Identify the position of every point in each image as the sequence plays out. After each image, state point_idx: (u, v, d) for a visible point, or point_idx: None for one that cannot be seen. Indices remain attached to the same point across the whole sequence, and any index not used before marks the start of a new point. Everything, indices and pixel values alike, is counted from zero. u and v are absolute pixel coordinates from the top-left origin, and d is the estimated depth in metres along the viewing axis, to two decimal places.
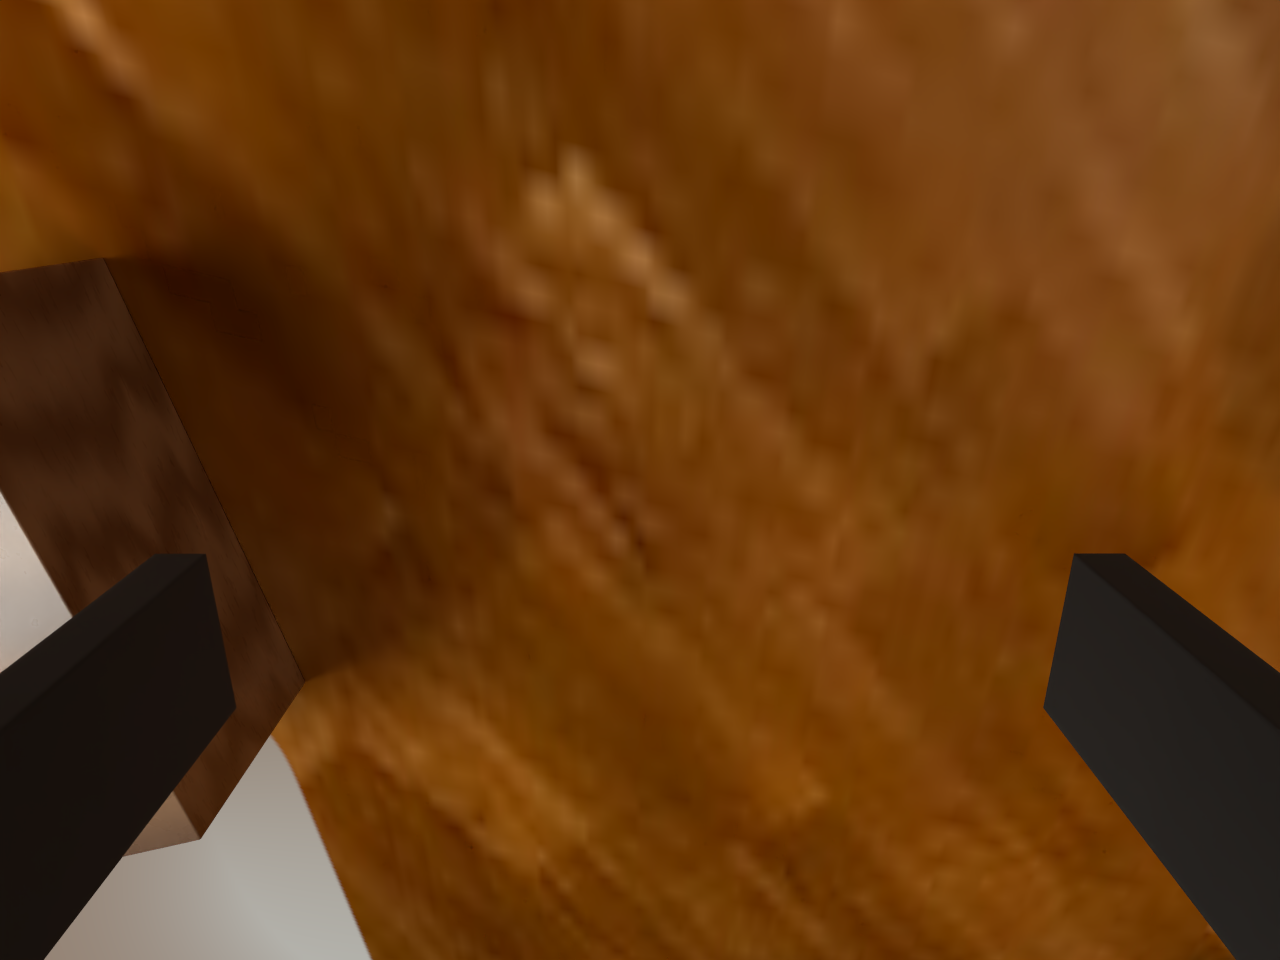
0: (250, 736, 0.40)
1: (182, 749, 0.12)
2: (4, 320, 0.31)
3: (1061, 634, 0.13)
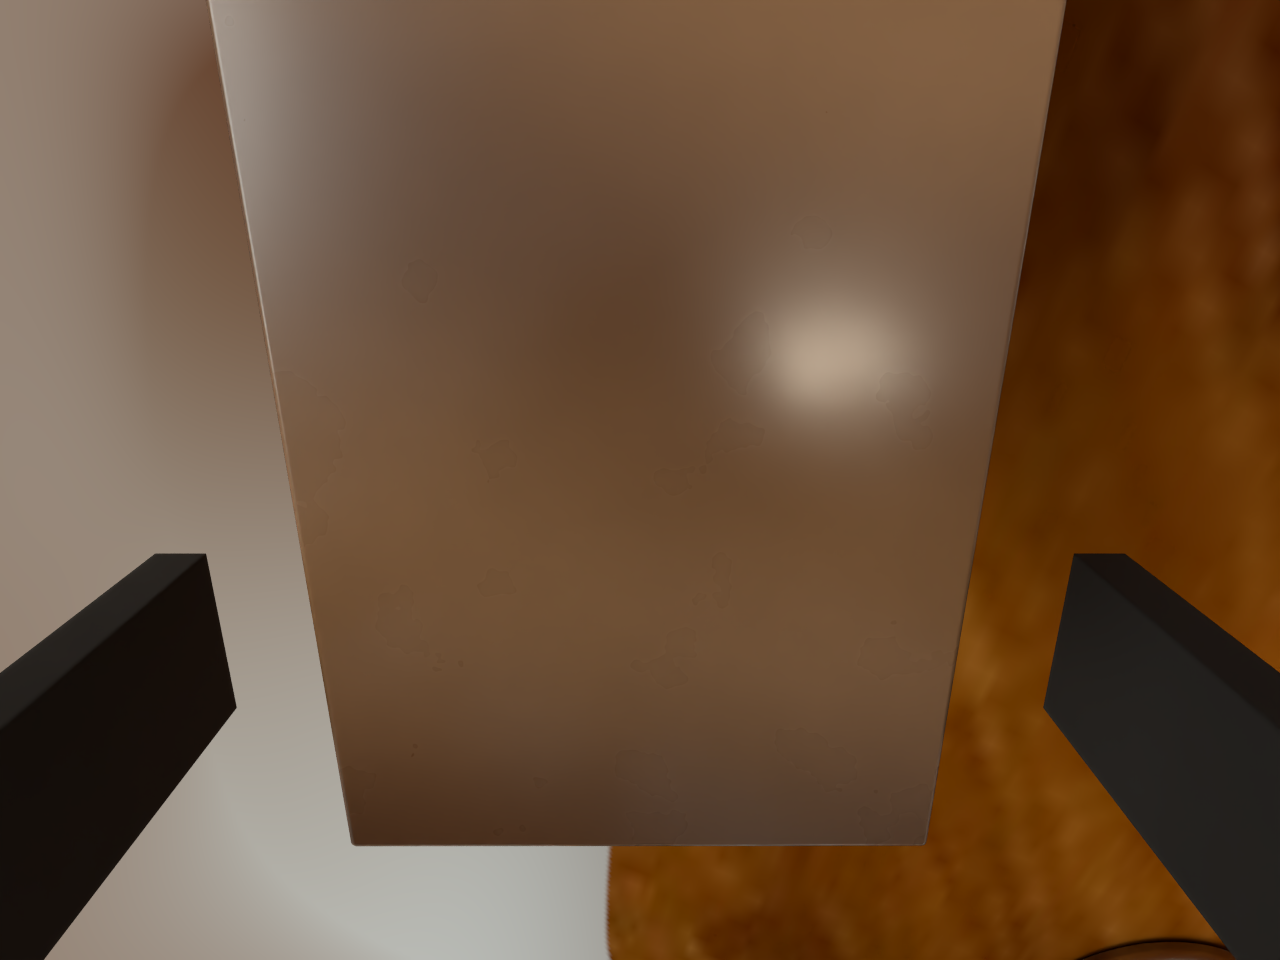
0: None
1: (182, 748, 0.12)
2: None
3: (1061, 634, 0.13)
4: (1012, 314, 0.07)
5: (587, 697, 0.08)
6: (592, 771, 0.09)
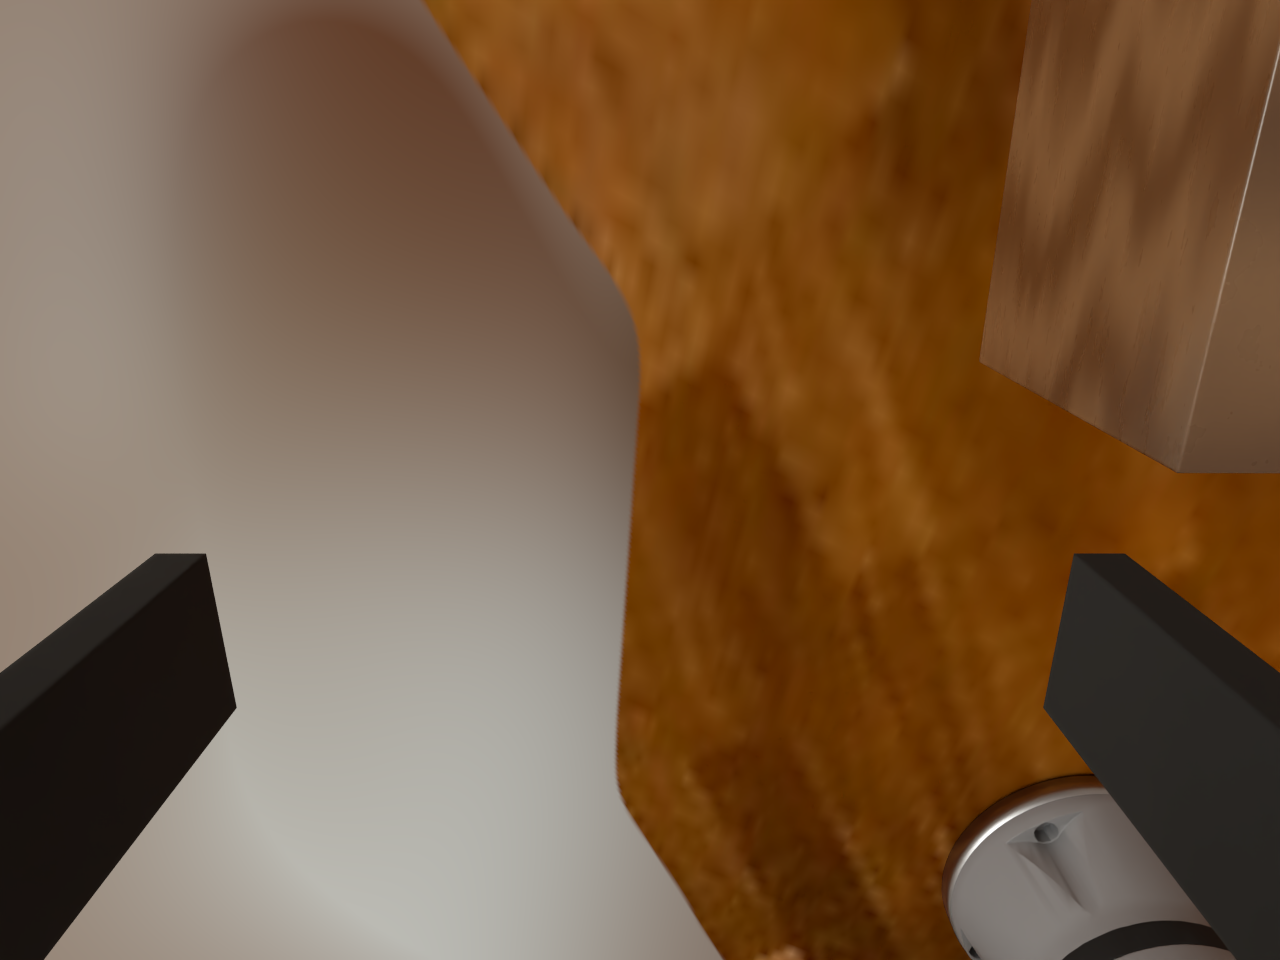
0: None
1: (182, 749, 0.12)
2: None
3: (1061, 634, 0.13)
4: None
5: None
6: None
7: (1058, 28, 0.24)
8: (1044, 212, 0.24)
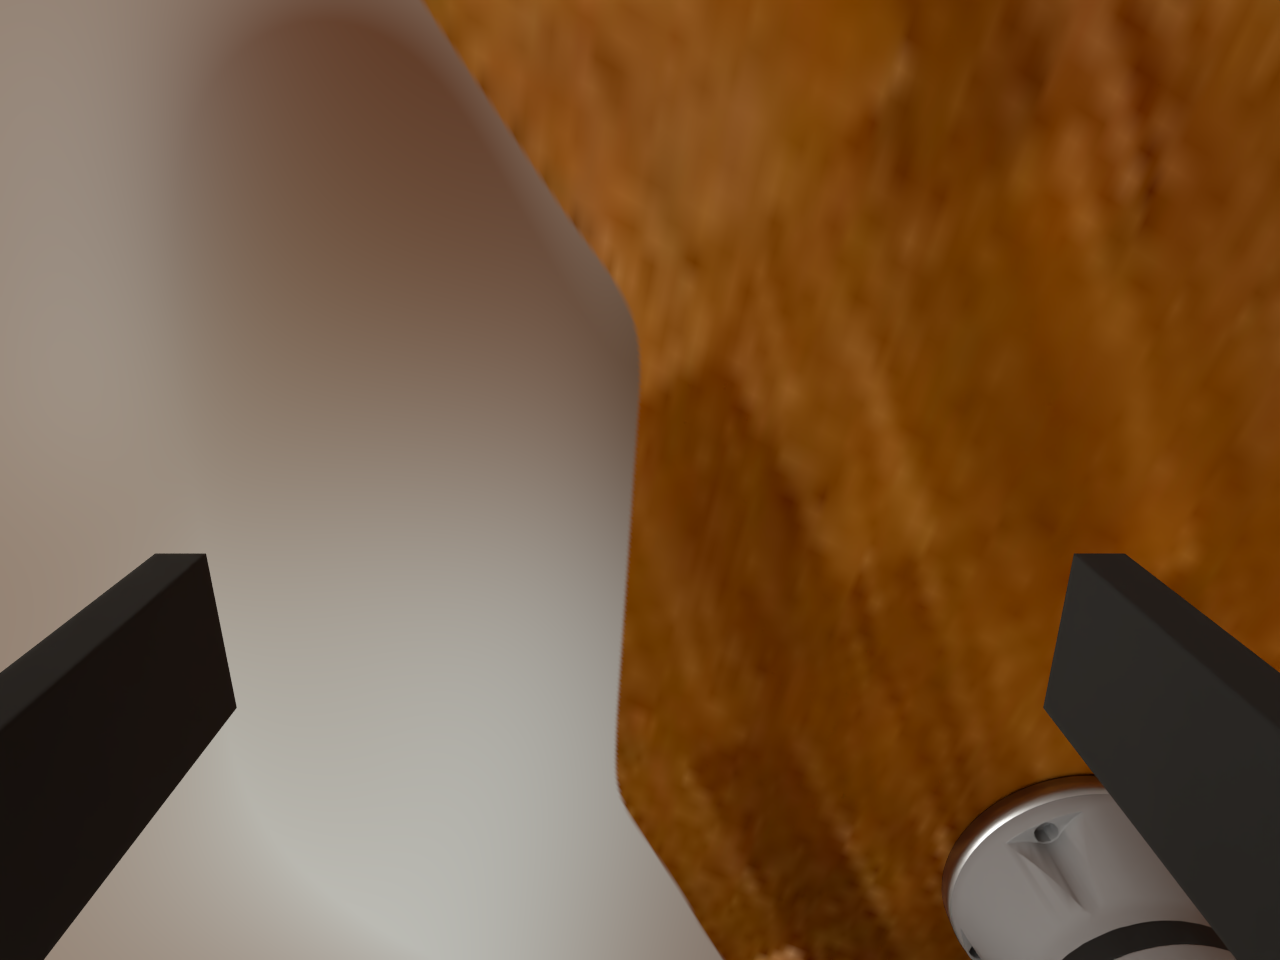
0: None
1: (182, 749, 0.12)
2: None
3: (1061, 634, 0.13)
4: None
5: None
6: None
7: None
8: None
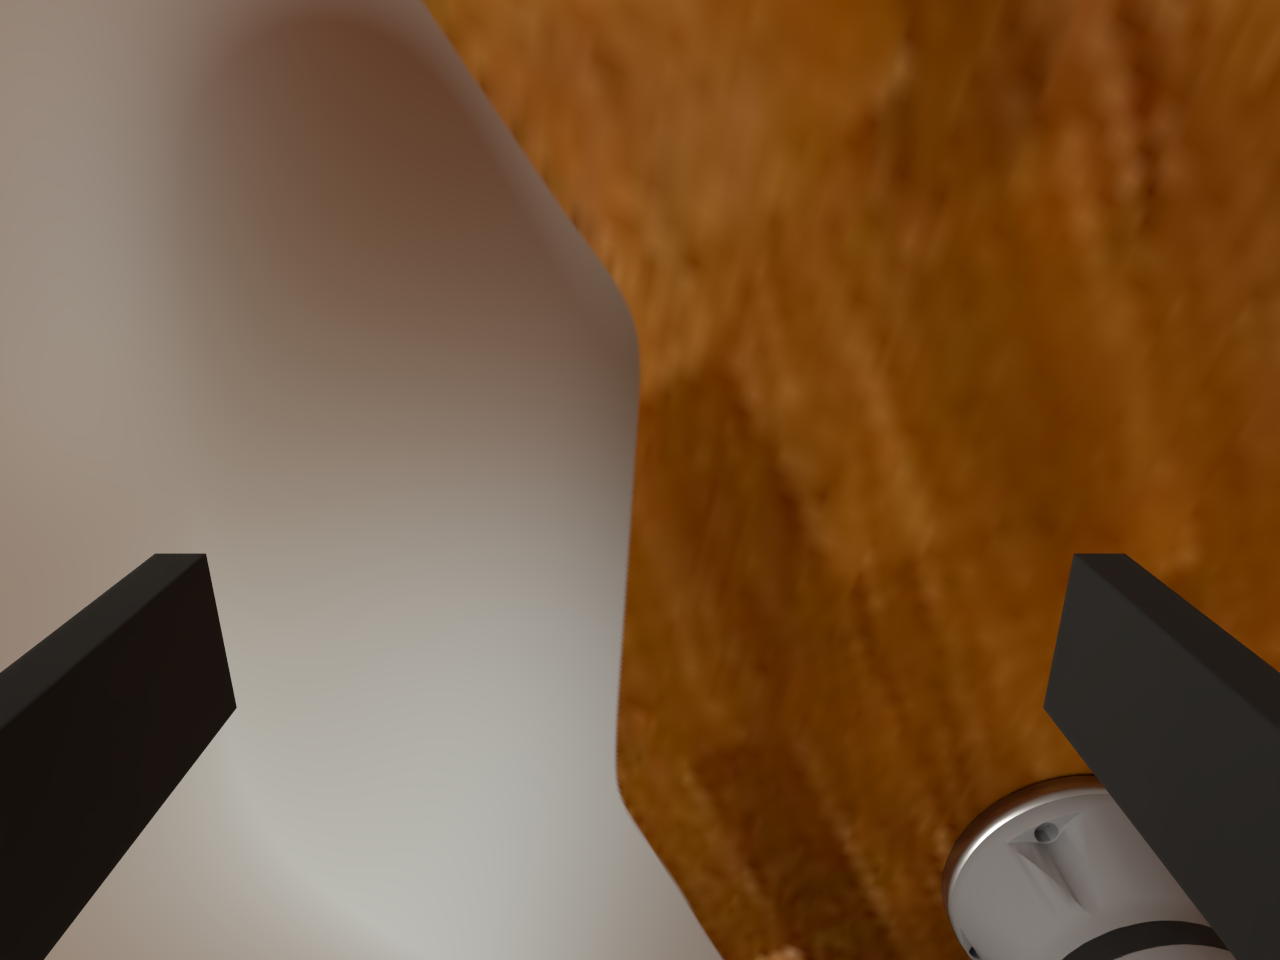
0: None
1: (182, 749, 0.12)
2: None
3: (1061, 634, 0.13)
4: None
5: None
6: None
7: None
8: None
